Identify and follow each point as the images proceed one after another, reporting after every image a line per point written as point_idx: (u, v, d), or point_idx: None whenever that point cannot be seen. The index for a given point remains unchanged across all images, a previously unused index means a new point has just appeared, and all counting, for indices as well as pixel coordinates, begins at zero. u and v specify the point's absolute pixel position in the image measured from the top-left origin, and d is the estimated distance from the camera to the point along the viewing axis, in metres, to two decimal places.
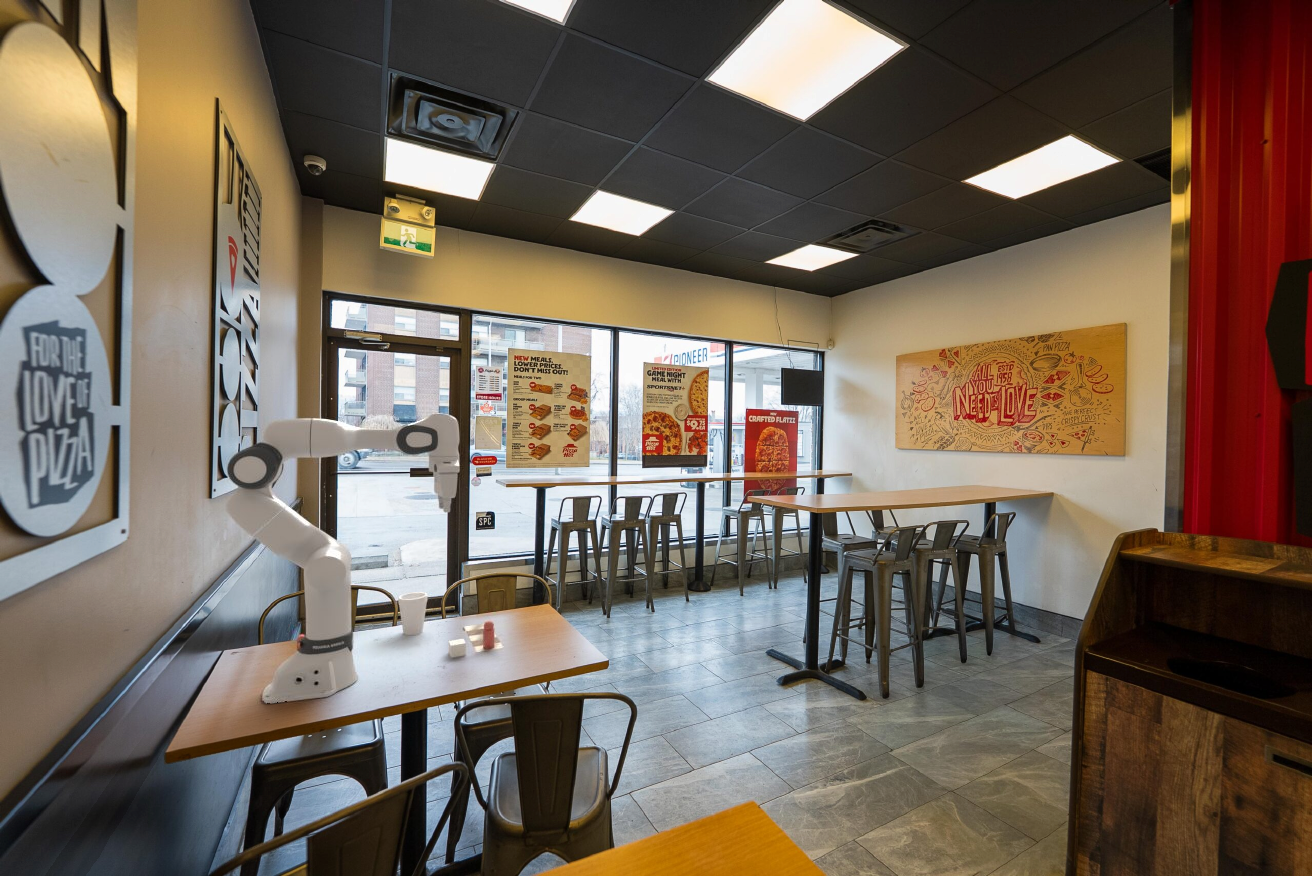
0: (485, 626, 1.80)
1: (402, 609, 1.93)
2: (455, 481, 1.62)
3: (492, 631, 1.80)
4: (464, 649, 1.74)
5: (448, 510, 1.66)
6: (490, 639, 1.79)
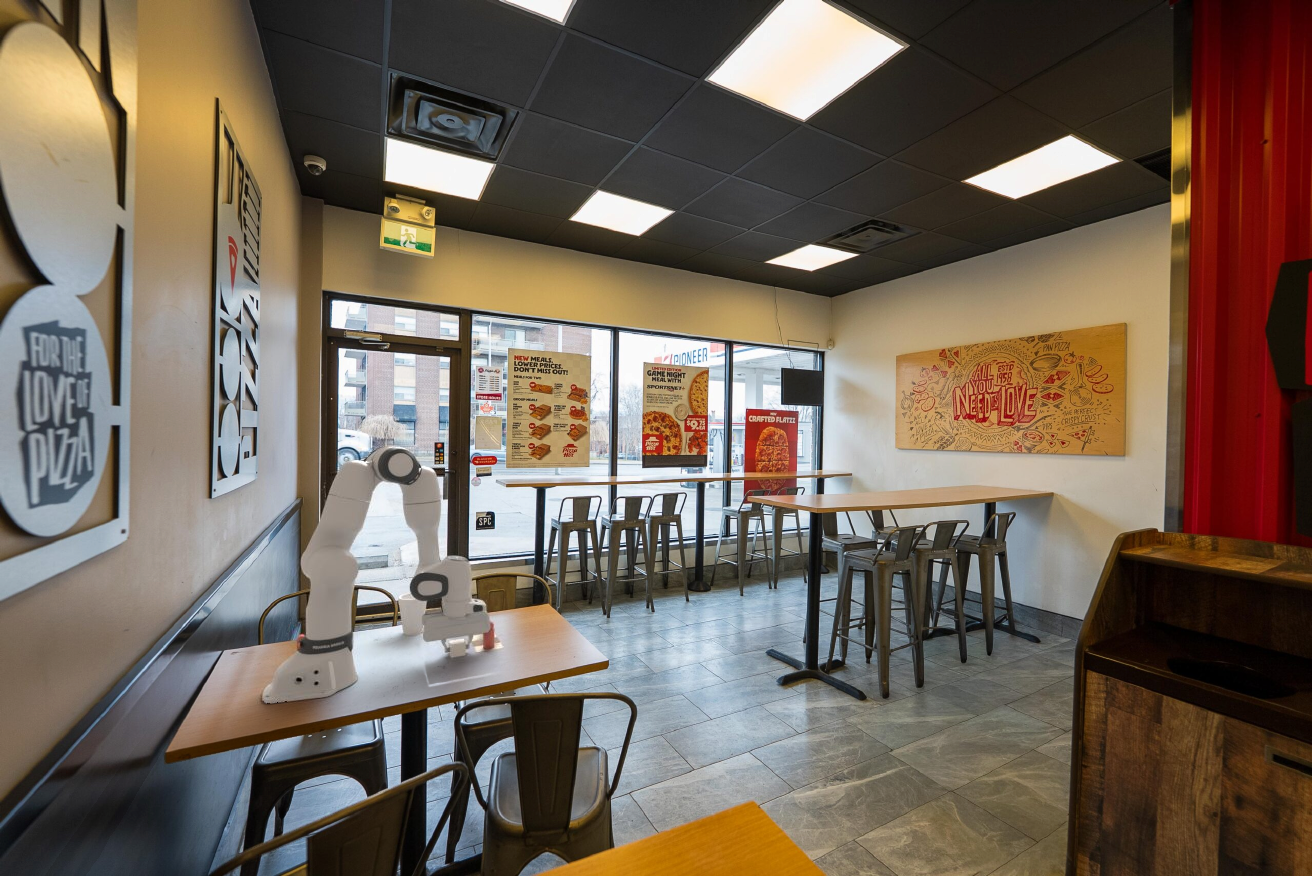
0: None
1: (401, 609, 1.93)
2: None
3: (492, 631, 1.80)
4: (464, 649, 1.74)
5: None
6: (490, 639, 1.79)
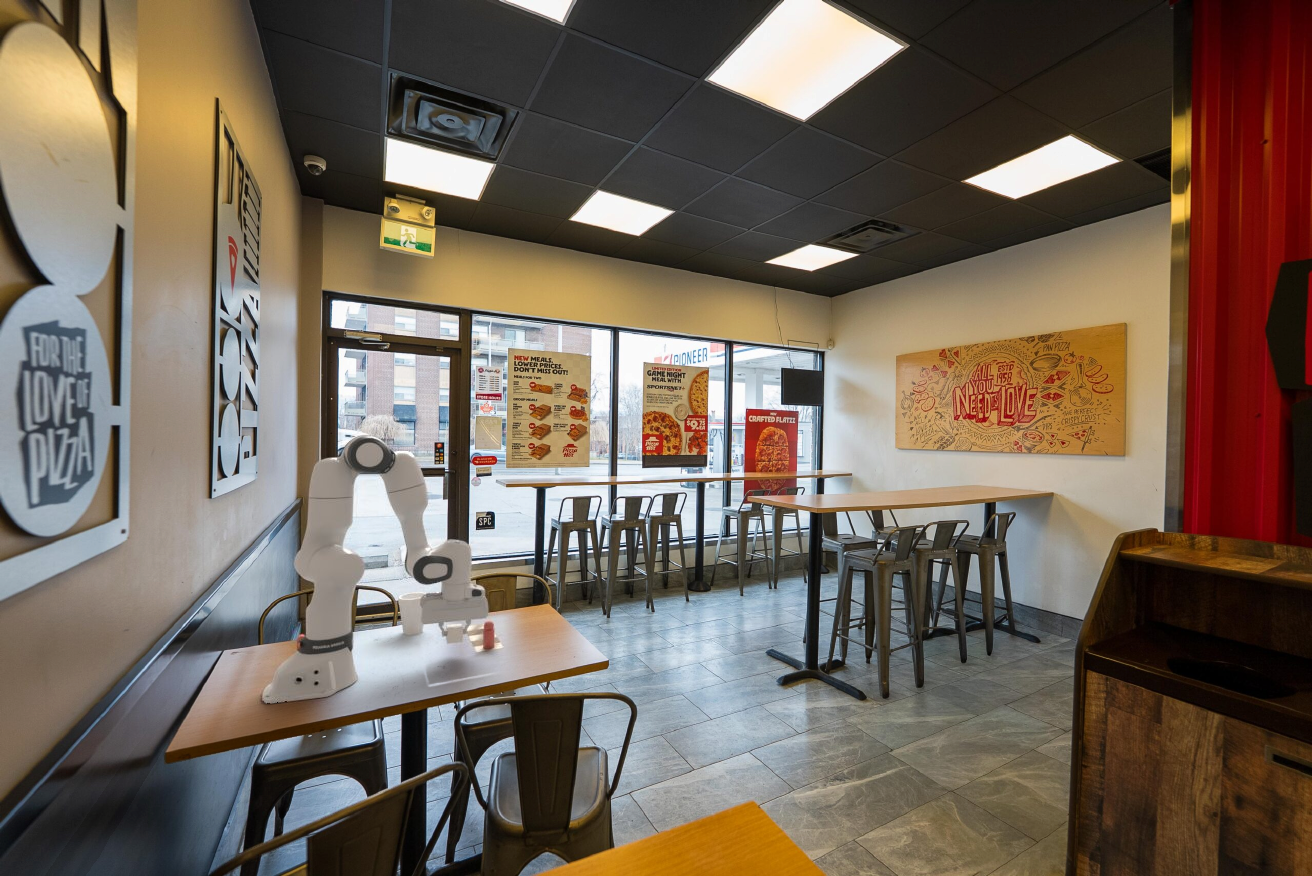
0: (485, 626, 1.80)
1: (402, 609, 1.93)
2: None
3: (492, 631, 1.80)
4: (461, 633, 1.73)
5: None
6: (490, 639, 1.79)
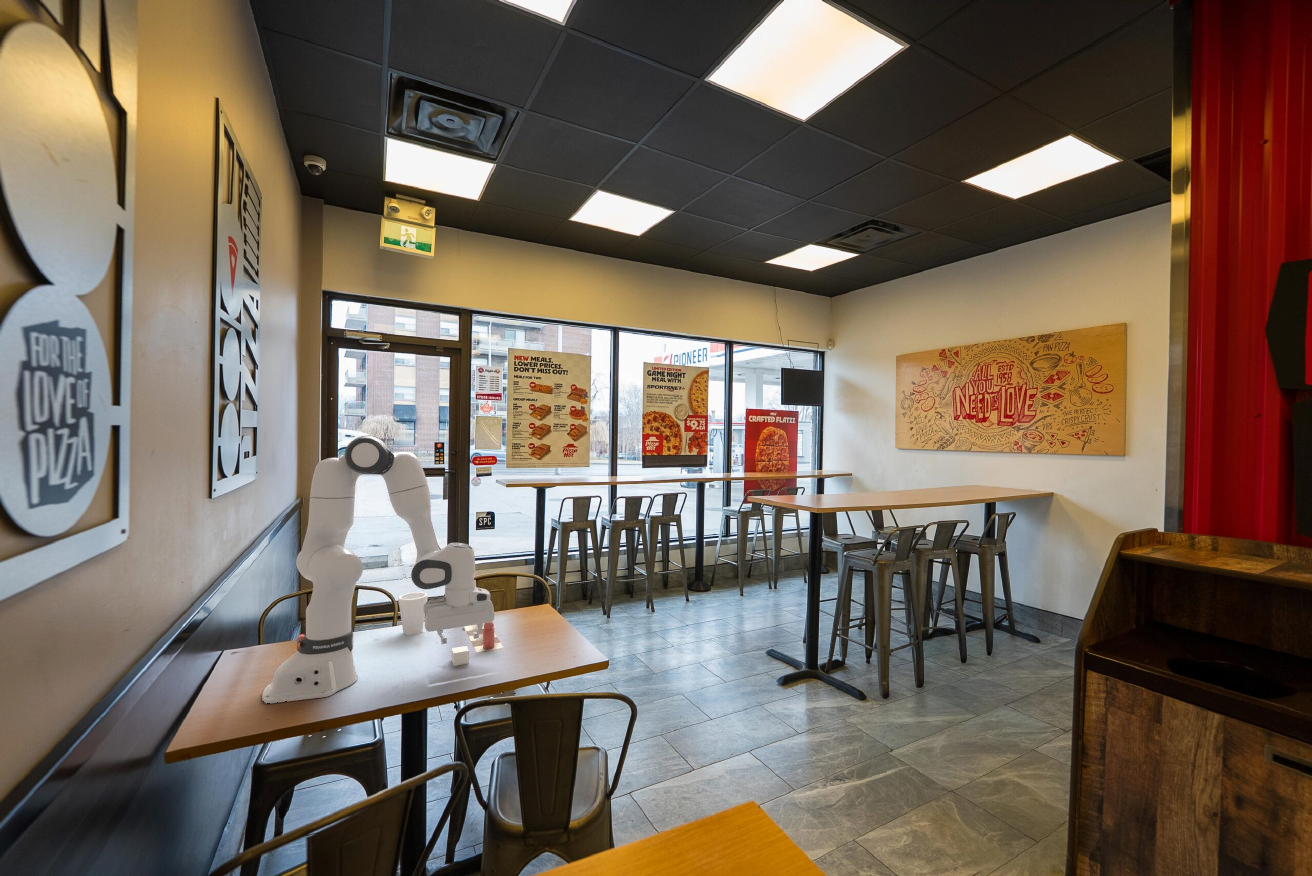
0: (485, 626, 1.80)
1: (402, 609, 1.93)
2: None
3: (492, 631, 1.80)
4: (467, 657, 1.68)
5: None
6: (490, 639, 1.79)
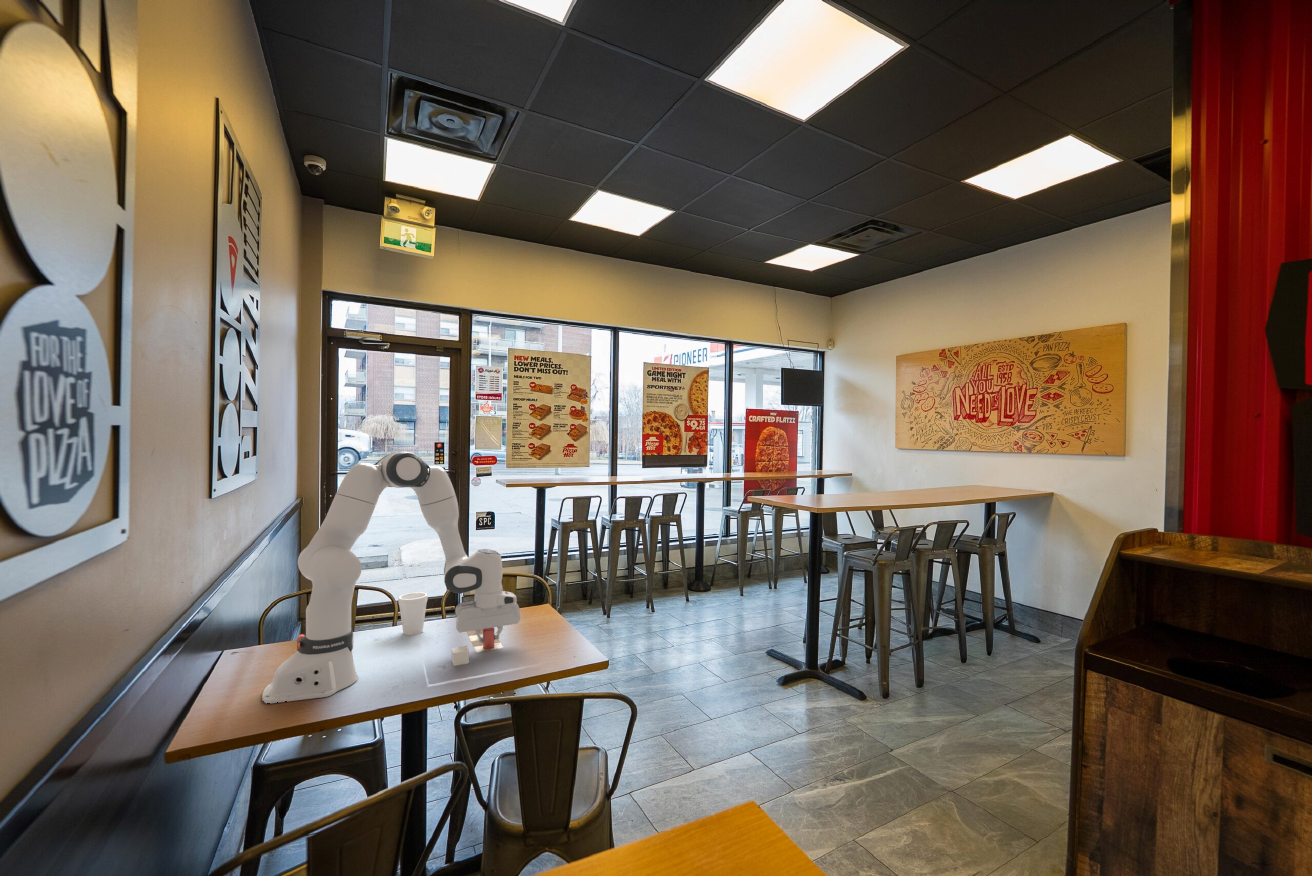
0: None
1: (402, 609, 1.93)
2: None
3: (492, 631, 1.80)
4: (467, 657, 1.68)
5: None
6: (490, 639, 1.79)
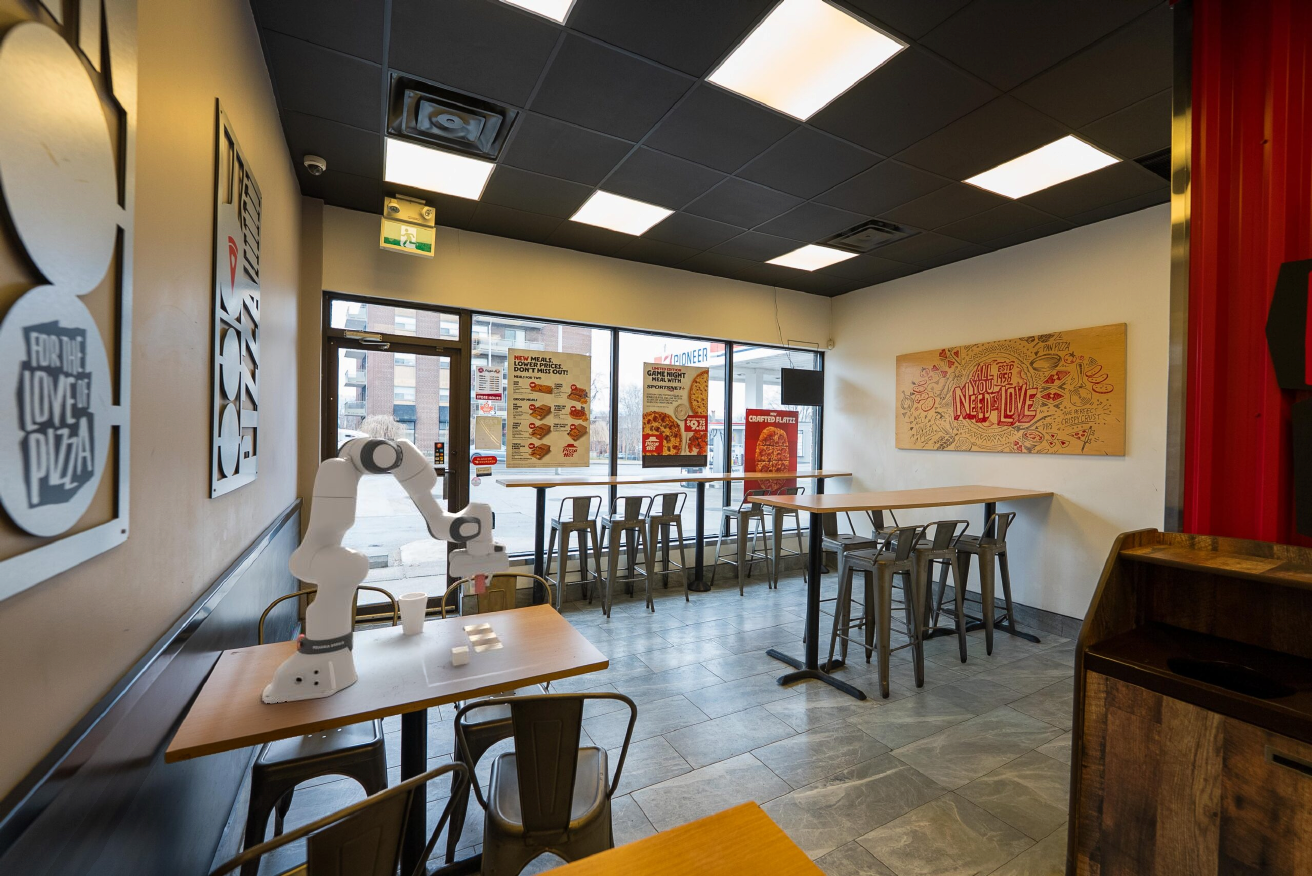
0: None
1: (402, 609, 1.93)
2: None
3: (483, 577, 1.95)
4: (467, 657, 1.68)
5: None
6: (481, 584, 1.94)
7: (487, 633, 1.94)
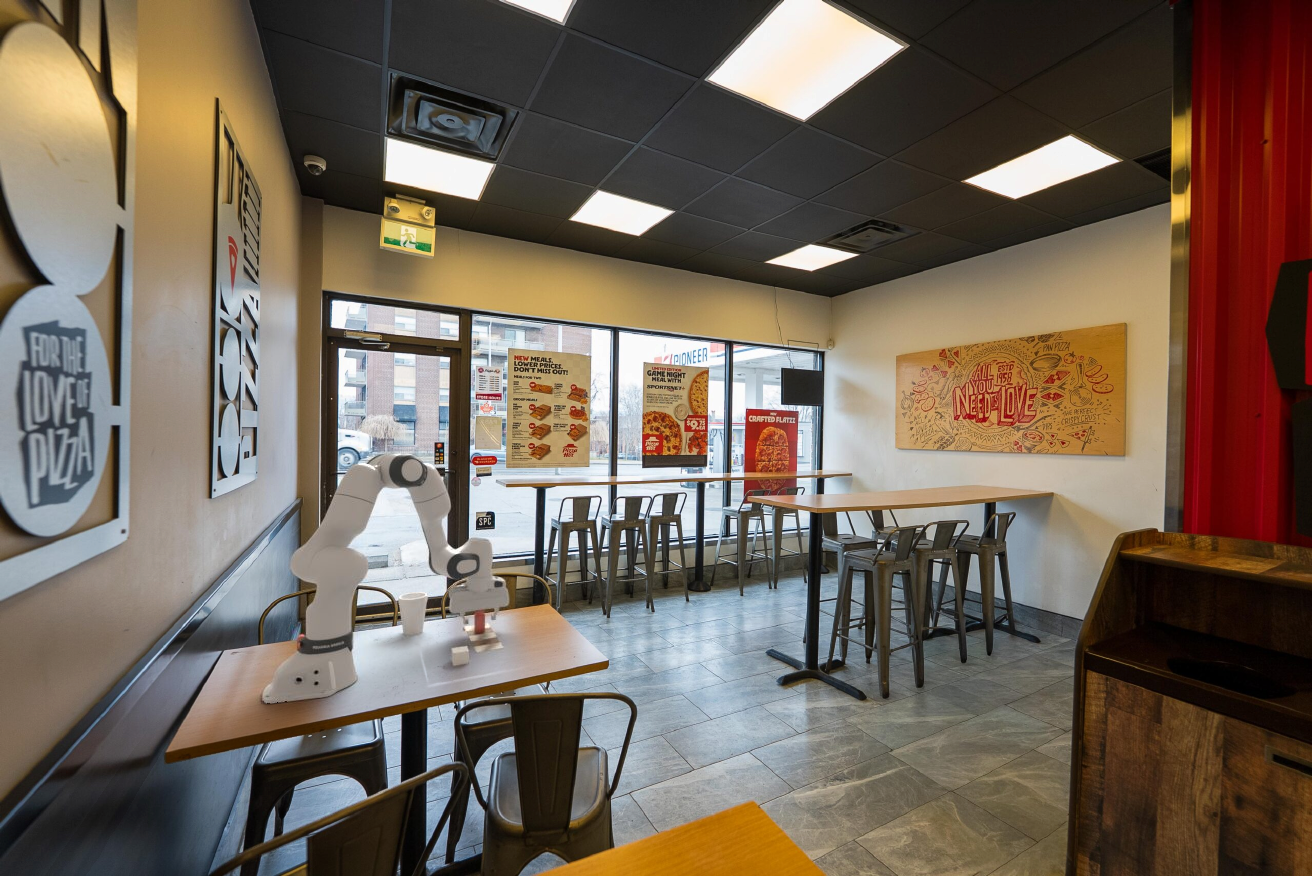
0: (476, 612, 1.94)
1: (402, 609, 1.93)
2: None
3: (483, 617, 1.95)
4: (467, 657, 1.68)
5: None
6: (481, 623, 1.94)
7: (487, 633, 1.94)
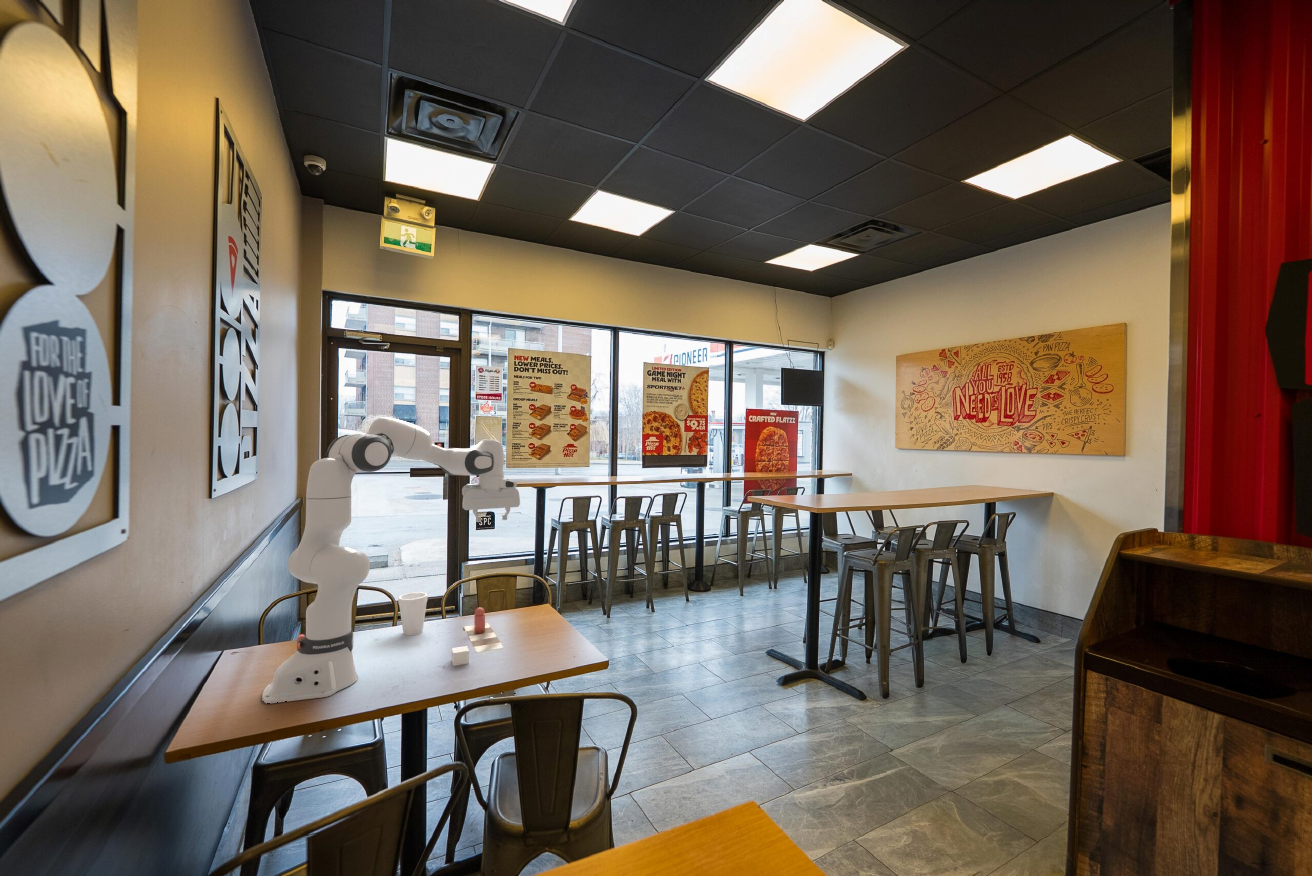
0: (476, 612, 1.94)
1: (402, 609, 1.93)
2: None
3: (483, 617, 1.95)
4: (467, 657, 1.68)
5: None
6: (481, 624, 1.94)
7: (487, 633, 1.94)
